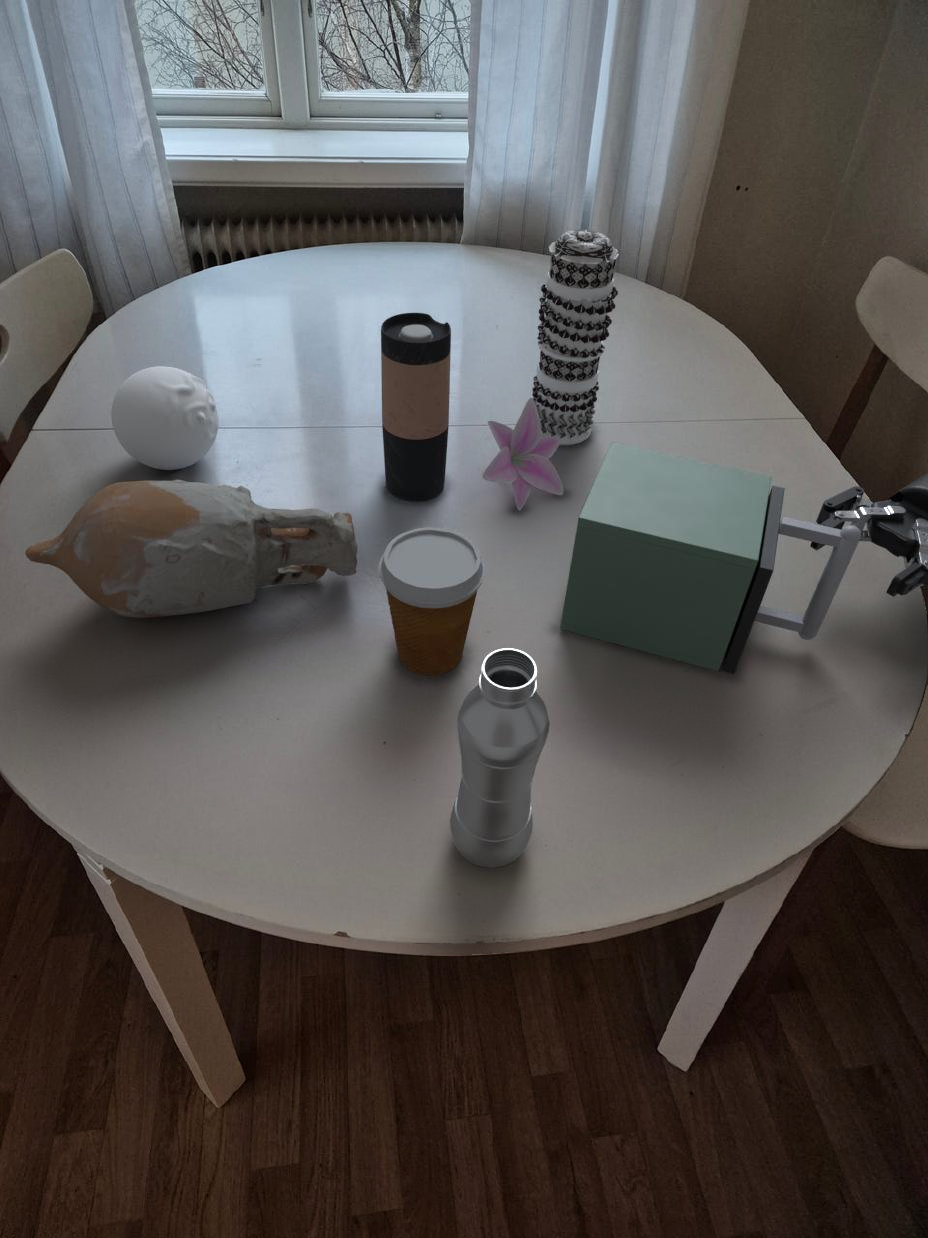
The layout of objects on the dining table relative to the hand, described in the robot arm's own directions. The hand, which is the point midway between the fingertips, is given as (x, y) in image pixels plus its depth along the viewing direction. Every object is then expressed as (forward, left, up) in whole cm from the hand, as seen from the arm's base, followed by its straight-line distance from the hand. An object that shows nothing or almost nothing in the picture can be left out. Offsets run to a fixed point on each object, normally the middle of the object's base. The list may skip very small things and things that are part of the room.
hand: (853, 563), depth 83 cm
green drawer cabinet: (+17, +3, -9) cm, 20 cm away
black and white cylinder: (+35, -28, -9) cm, 46 cm away
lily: (+36, -12, -9) cm, 39 cm away
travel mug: (+48, -8, -9) cm, 50 cm away
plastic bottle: (+24, +36, -9) cm, 44 cm away
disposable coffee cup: (+36, +18, -9) cm, 42 cm away
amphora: (+60, +19, -9) cm, 64 cm away
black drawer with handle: (+12, +3, -9) cm, 15 cm away
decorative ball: (+77, -1, -9) cm, 78 cm away
